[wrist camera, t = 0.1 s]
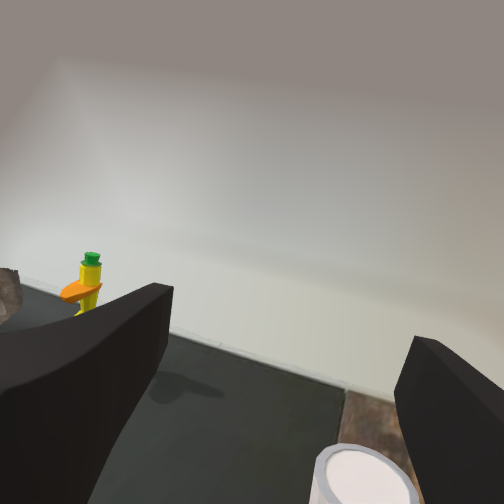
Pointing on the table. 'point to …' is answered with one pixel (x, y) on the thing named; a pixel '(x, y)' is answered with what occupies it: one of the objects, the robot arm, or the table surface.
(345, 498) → the white cylinder
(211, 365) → the table surface
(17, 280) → the stone bowl
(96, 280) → the toy figure
